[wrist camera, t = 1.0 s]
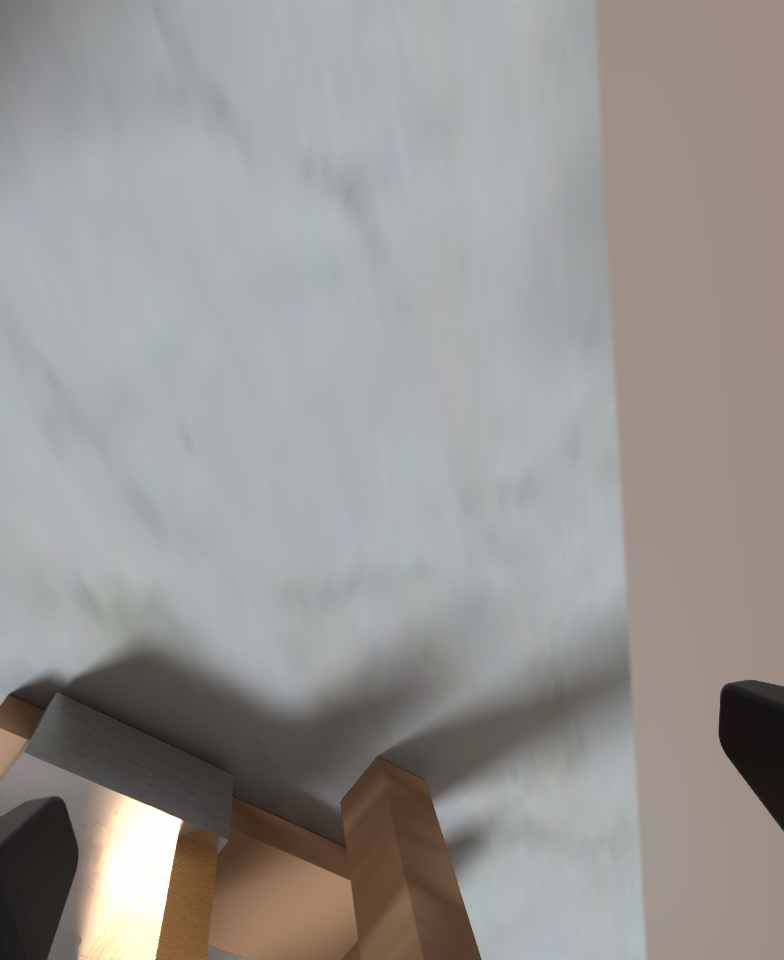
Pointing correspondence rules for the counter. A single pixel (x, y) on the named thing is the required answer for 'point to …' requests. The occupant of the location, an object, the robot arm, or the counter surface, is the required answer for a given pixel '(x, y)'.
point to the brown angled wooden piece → (327, 874)
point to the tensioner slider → (127, 833)
